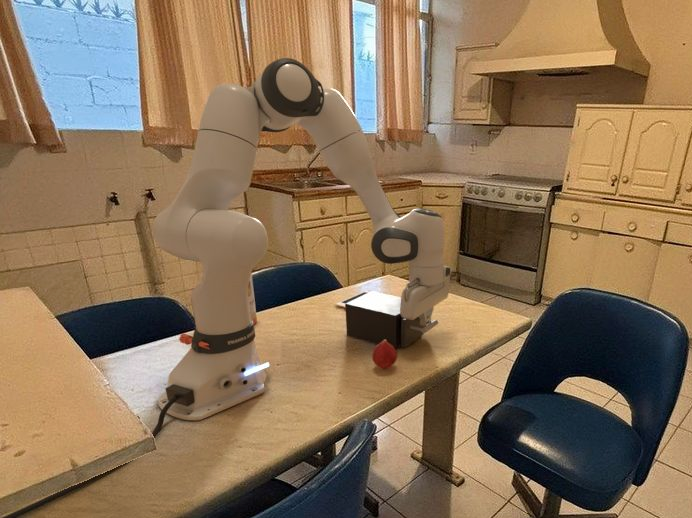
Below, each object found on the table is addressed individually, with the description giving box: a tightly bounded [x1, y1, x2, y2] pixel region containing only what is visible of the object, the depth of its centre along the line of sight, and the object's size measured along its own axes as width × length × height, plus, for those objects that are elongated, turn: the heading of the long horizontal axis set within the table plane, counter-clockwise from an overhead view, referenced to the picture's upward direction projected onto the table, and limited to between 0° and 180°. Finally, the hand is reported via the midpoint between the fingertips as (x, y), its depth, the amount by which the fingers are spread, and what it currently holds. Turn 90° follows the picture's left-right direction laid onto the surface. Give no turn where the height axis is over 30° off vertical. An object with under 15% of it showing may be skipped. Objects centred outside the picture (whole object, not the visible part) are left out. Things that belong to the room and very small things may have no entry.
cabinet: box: [344, 290, 402, 350], centre depth 128 cm, size 17×13×10 cm
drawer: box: [397, 316, 439, 348], centre depth 125 cm, size 20×11×8 cm, turn 60°
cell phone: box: [335, 290, 370, 309], centre depth 154 cm, size 8×16×1 cm, turn 148°
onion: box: [371, 340, 398, 371], centre depth 109 cm, size 6×6×8 cm
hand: (425, 323), depth 121 cm, fingers closed
